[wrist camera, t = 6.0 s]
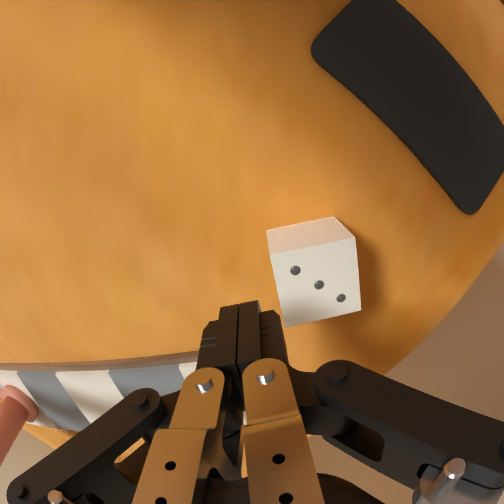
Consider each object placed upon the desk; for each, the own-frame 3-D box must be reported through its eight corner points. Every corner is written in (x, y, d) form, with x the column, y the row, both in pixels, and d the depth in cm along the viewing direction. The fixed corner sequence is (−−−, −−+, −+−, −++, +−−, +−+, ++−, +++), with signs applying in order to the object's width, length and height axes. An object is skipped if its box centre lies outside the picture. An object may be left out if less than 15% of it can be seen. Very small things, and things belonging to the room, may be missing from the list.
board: (-13, 362, 23) (-17, 368, 22) (269, 338, 20) (270, 347, 19) (28, 419, 26) (25, 425, 25) (289, 418, 23) (290, 427, 22)
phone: (373, -20, 12) (517, 147, 15) (368, -14, 12) (510, 146, 16) (302, 50, 14) (470, 222, 17) (300, 55, 14) (463, 219, 18)
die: (265, 229, 18) (270, 256, 14) (333, 215, 17) (355, 237, 14) (279, 292, 19) (285, 330, 15) (341, 278, 19) (361, 312, 15)
